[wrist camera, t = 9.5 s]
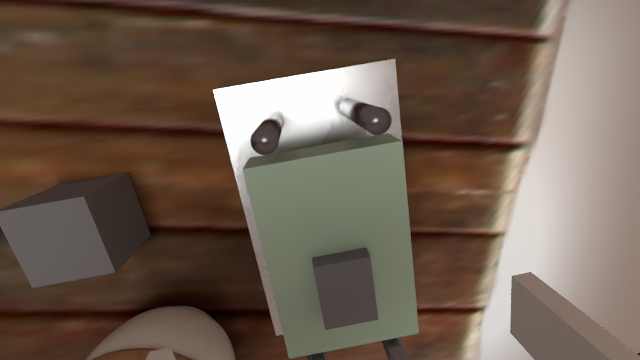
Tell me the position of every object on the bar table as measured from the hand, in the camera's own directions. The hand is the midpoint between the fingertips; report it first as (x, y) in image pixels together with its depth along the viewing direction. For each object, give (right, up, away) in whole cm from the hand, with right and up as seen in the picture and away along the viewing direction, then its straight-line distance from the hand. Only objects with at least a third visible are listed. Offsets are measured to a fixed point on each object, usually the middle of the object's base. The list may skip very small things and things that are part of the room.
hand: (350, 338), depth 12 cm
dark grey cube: (-17, +4, +11) cm, 20 cm away
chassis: (-1, +4, +12) cm, 13 cm away
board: (0, +2, +8) cm, 8 cm away
